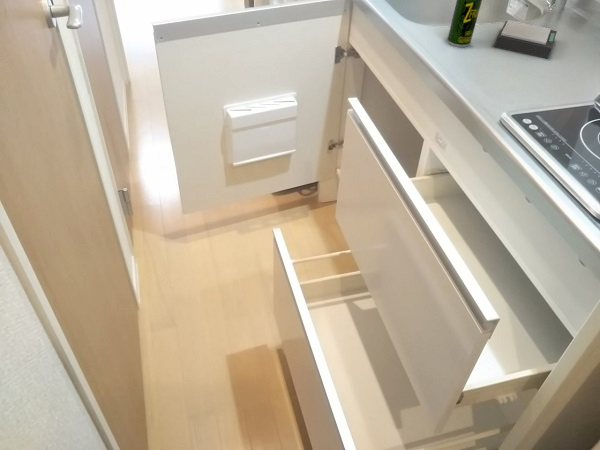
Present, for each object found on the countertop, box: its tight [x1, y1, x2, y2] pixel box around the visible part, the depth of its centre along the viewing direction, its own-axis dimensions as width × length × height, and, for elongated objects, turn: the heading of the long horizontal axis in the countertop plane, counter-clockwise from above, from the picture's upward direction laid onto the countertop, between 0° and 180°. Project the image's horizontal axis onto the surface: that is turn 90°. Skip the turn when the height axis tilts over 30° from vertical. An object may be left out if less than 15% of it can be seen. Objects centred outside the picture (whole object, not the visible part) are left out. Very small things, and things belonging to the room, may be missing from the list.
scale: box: [494, 19, 558, 59], centre depth 122 cm, size 12×11×3 cm
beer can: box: [447, 0, 483, 48], centre depth 118 cm, size 5×5×12 cm
